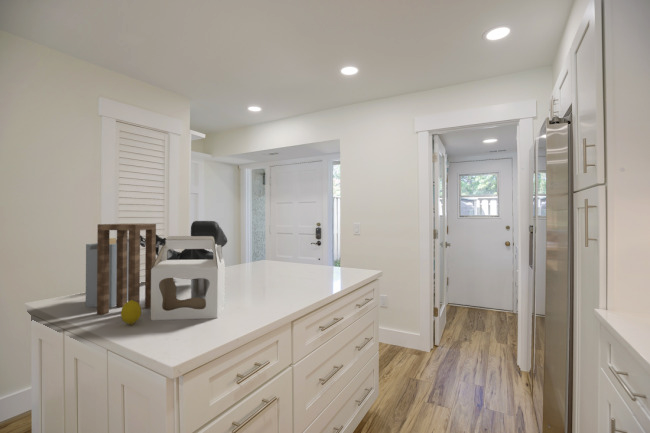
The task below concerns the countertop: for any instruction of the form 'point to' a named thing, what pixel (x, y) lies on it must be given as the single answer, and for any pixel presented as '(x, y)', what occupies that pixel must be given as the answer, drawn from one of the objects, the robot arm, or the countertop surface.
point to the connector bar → (113, 241)
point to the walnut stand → (124, 264)
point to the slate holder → (92, 274)
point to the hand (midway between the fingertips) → (145, 235)
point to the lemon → (131, 312)
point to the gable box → (166, 270)
